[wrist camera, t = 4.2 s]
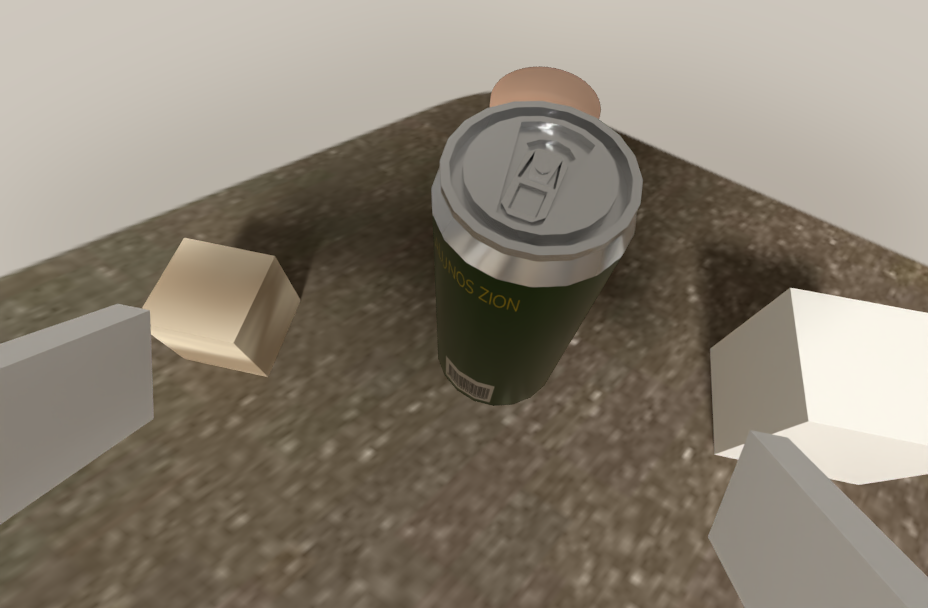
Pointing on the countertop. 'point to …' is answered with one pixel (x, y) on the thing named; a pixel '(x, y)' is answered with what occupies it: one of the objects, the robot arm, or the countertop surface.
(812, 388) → the off-white plastic box
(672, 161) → the countertop surface
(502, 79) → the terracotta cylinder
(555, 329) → the green soda can
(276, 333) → the birch block
